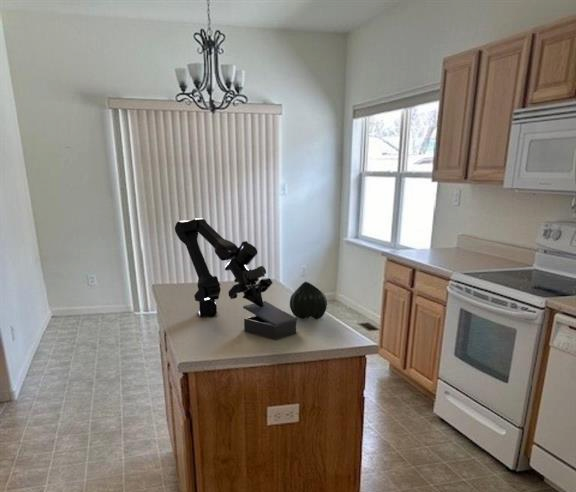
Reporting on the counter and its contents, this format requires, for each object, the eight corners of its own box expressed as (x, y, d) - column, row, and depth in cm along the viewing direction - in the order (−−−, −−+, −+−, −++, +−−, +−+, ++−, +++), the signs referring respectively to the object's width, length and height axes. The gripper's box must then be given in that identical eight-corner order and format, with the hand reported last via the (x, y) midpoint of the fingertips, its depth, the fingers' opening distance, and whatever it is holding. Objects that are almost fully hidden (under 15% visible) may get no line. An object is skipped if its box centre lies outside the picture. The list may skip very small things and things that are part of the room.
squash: (323, 311, 206) (326, 277, 211) (285, 310, 208) (289, 277, 213) (326, 327, 219) (329, 295, 224) (290, 326, 222) (294, 294, 227)
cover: (243, 308, 196) (243, 306, 195) (264, 302, 204) (265, 300, 203) (275, 326, 187) (275, 324, 187) (296, 320, 196) (296, 318, 195)
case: (244, 330, 199) (244, 318, 197) (265, 324, 207) (265, 312, 205) (275, 339, 189) (275, 326, 187) (296, 332, 197) (296, 320, 196)
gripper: (233, 262, 187) (255, 298, 185) (269, 256, 201) (290, 290, 198) (218, 281, 195) (240, 316, 193) (254, 274, 208) (274, 307, 206)
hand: (262, 306), depth 197 cm, fingers closed, pressing on cover
